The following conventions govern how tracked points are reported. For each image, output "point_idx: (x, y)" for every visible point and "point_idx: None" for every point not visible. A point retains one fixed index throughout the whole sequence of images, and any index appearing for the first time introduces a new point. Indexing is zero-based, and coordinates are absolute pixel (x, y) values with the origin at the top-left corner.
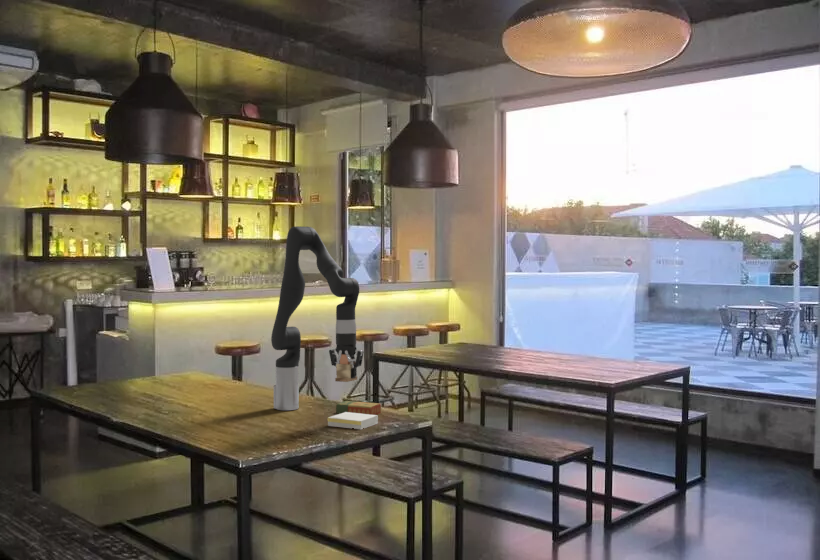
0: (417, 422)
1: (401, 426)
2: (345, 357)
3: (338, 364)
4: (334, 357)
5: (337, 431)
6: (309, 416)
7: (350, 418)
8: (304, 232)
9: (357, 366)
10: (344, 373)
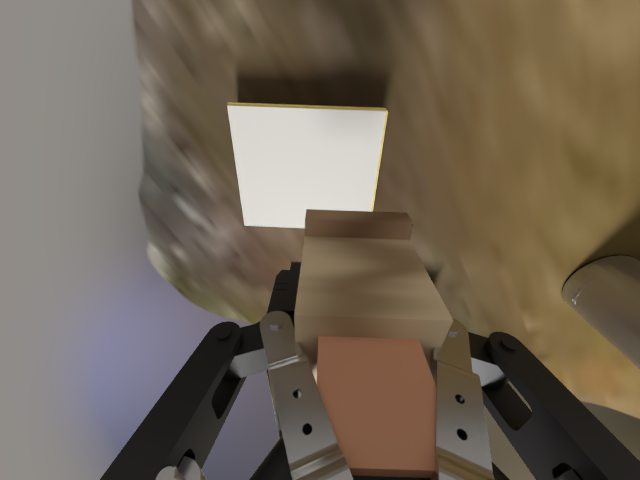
0: (175, 264)
1: (170, 206)
2: (356, 416)
3: (425, 316)
4: (537, 433)
5: (295, 18)
6: (499, 218)
7: (293, 134)
8: None
9: (220, 324)
10: (342, 258)
